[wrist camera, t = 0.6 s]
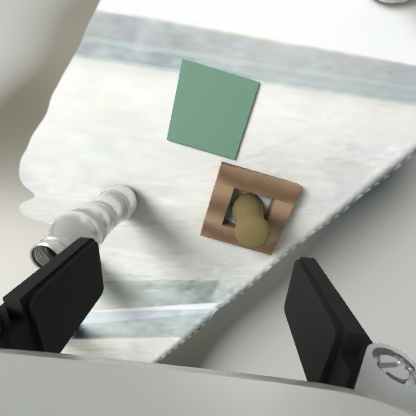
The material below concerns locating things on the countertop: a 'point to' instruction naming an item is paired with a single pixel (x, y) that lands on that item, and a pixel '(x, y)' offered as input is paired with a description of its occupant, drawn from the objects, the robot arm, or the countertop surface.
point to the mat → (211, 109)
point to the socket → (255, 183)
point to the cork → (250, 221)
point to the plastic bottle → (86, 222)
